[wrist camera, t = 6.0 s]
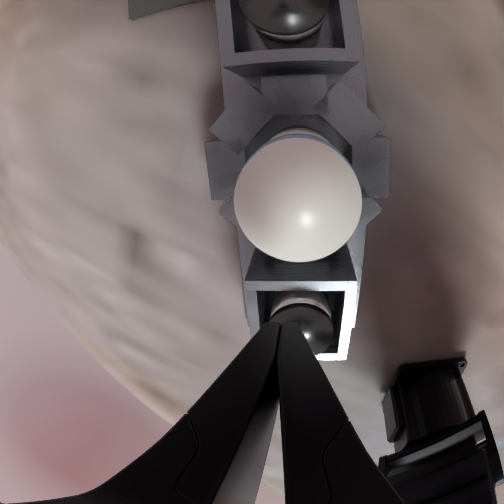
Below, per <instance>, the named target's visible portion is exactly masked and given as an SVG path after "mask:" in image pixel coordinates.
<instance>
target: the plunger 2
mask: <svg viewBox="0 0 504 504" xmlns="http://www.w3.org/2000/svg"><path fill="white" fill-rule="evenodd" d="M269 322H278V323H280V324H282V323H284V322H296V323H298V324H299V326H300V328H301V330H302V332H303V333H304V335H305V337H306V339H307V341H308V343H309V345H310V347H311V348H312V350H313V352H314V354H315V356H316V355H318V354H320V353H322V352H323V351H325V350H326V349H327V348H328V347H329V345H330V344H331V342H332V340H333V323H332V320H331V311H330V300H329V291H275V292H274V298H273V304H272V310H271V316H270V319H269Z"/></svg>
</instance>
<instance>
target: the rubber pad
mask: <svg viewBox="0 0 504 504" xmlns="http://www.w3.org/2000/svg"><path fill="white" fill-rule="evenodd" d="M197 1H202V0H128V4H129V19H131V20H134V19H136V18H139V17H142V16H145V15H149V14H152V13H155V12H158V11H162V10H165V9H169V8H172V7H176V6H180V5H184V4H188V3H193V2H197Z"/></svg>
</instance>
